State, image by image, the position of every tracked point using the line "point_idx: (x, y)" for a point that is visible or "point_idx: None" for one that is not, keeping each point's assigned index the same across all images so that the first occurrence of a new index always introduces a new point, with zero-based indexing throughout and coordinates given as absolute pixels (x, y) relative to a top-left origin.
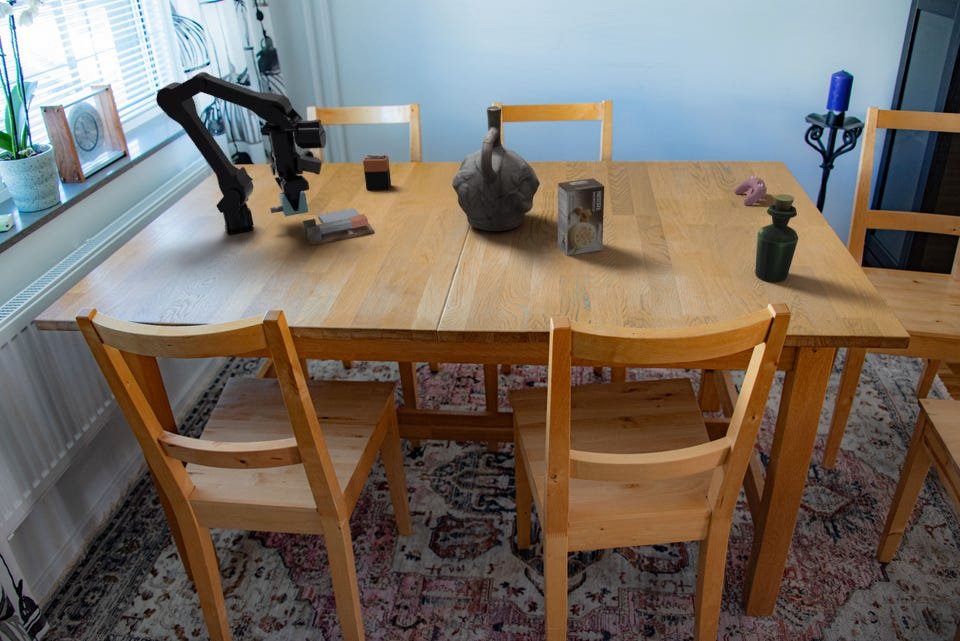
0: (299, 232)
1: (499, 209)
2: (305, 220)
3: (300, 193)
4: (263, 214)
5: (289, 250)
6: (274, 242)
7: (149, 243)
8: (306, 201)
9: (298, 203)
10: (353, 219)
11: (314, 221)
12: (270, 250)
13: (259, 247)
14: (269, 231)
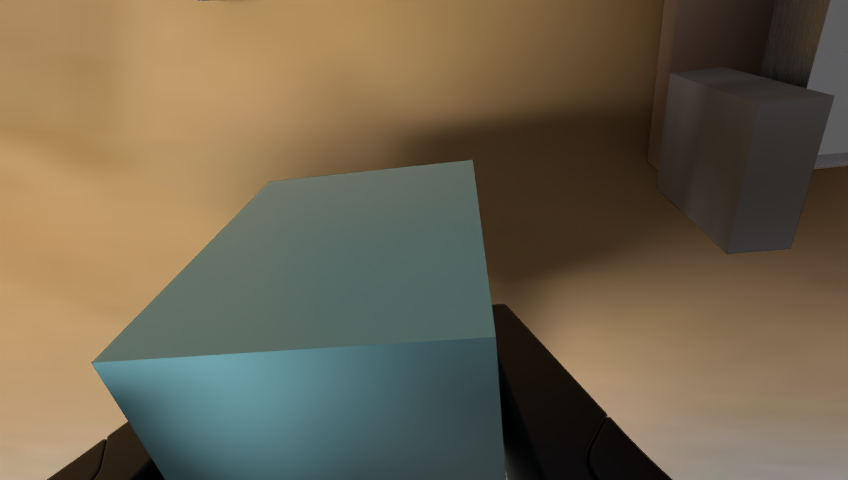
0: (513, 211)
1: None
2: (736, 221)
3: (409, 422)
4: (90, 388)
5: (827, 307)
6: (610, 373)
7: None
8: (482, 235)
9: (559, 369)
10: None
11: (816, 108)
12: (730, 401)
13: (637, 443)
14: None
